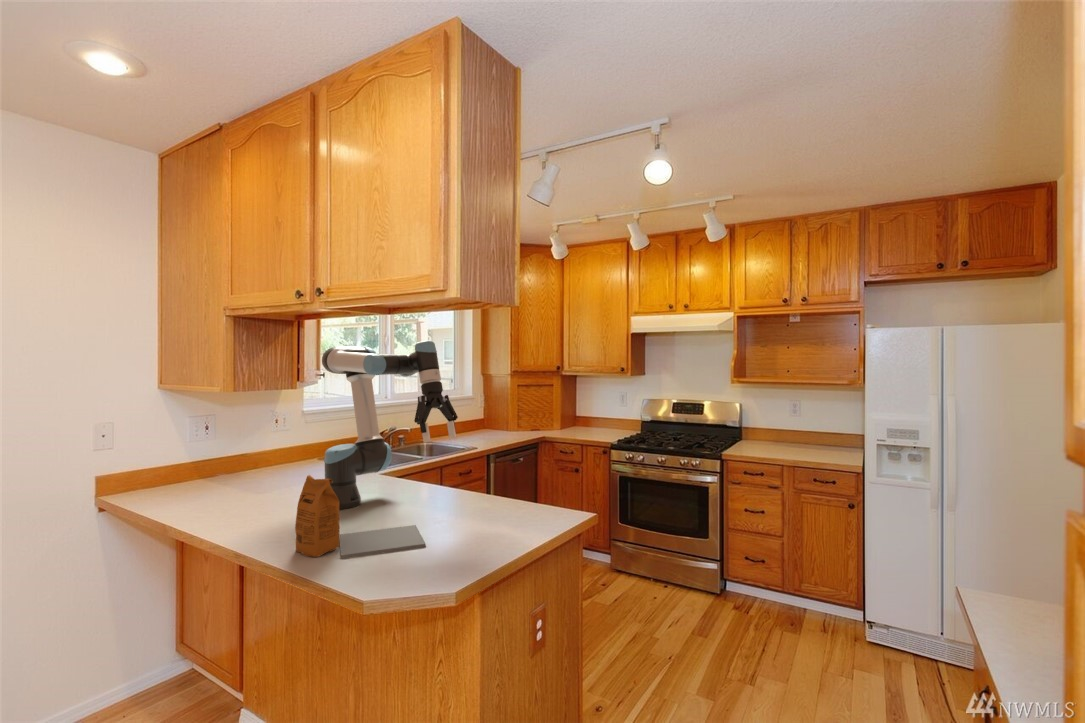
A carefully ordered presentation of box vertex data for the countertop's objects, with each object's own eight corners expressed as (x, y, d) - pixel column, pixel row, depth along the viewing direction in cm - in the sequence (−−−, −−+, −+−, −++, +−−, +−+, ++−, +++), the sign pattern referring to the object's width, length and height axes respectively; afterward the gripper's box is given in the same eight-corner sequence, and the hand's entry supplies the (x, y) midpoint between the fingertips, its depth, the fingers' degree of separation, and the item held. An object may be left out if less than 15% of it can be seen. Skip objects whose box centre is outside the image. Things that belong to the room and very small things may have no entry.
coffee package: (320, 541, 162) (320, 471, 162) (344, 549, 155) (343, 476, 155) (289, 551, 154) (289, 477, 154) (313, 560, 147) (312, 482, 147)
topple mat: (339, 537, 166) (339, 534, 166) (415, 527, 175) (415, 525, 175) (340, 558, 147) (340, 555, 147) (425, 546, 156) (425, 543, 156)
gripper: (413, 379, 176) (423, 441, 173) (460, 380, 198) (470, 435, 194) (398, 385, 180) (407, 445, 176) (446, 385, 201) (455, 439, 198)
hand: (440, 440), depth 185 cm, fingers open, 13 cm apart
